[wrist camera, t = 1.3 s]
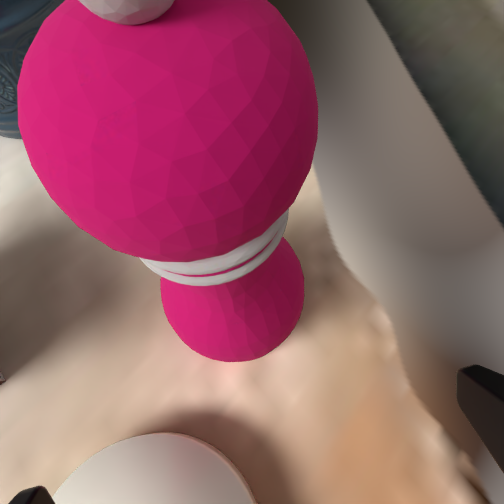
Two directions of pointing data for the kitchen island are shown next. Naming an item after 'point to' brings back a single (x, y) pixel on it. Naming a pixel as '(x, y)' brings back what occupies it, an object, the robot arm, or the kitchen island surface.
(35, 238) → the kitchen island surface
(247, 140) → the pepper mill
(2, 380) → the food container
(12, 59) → the canister
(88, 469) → the stand
